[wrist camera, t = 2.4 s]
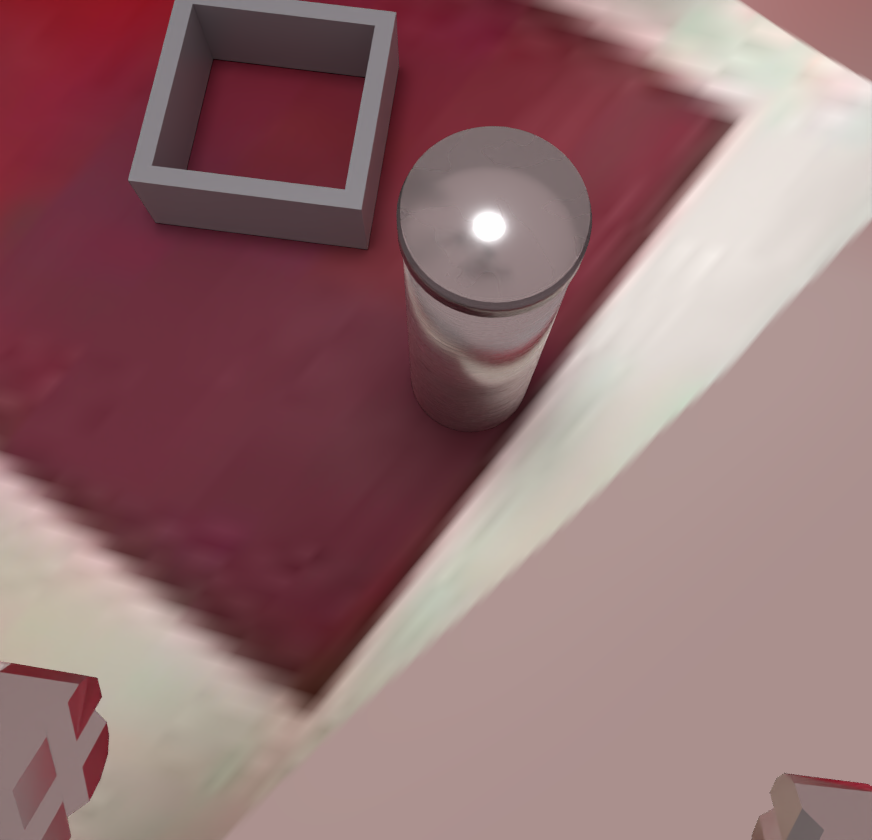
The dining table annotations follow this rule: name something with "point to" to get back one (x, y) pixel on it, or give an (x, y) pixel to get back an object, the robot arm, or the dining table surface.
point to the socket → (275, 46)
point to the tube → (486, 267)
